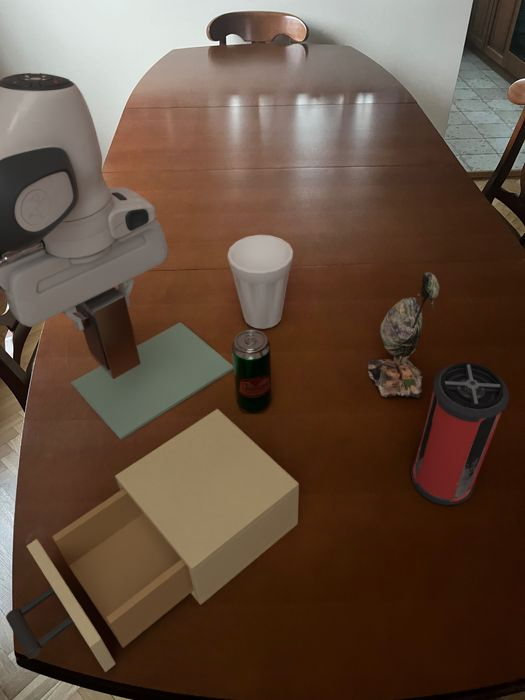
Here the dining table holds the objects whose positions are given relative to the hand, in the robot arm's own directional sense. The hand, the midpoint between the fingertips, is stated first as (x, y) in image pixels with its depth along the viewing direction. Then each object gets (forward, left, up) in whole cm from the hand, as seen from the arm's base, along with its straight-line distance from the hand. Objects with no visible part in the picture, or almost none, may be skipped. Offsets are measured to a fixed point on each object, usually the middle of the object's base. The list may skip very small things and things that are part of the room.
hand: (103, 316), depth 76 cm
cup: (+26, -1, -15) cm, 30 cm away
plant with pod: (+32, -24, -15) cm, 43 cm away
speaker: (+22, -40, -15) cm, 48 cm away
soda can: (+13, -14, -15) cm, 24 cm away
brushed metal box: (0, 0, -8) cm, 8 cm away
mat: (+5, 0, -15) cm, 16 cm away
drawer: (-17, -25, -14) cm, 33 cm away
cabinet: (-3, -25, -15) cm, 29 cm away
